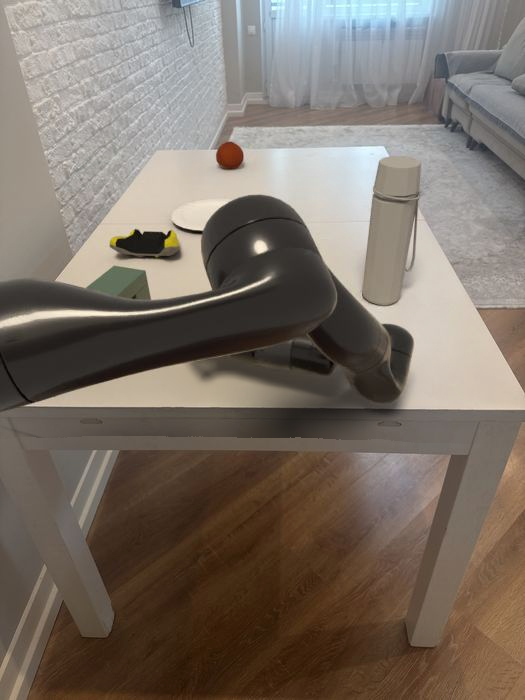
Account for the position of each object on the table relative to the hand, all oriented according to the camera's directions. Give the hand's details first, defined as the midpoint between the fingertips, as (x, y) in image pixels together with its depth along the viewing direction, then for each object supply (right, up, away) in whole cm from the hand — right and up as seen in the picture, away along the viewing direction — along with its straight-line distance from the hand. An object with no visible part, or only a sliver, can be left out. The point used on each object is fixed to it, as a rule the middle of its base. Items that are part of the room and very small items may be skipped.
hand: (161, 319), depth 75 cm
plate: (+3, +29, +50) cm, 58 cm away
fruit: (+5, +55, +84) cm, 100 cm away
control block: (-8, -4, +7) cm, 11 cm away
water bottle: (+39, +5, +18) cm, 43 cm away
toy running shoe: (-10, +17, +35) cm, 40 cm away
